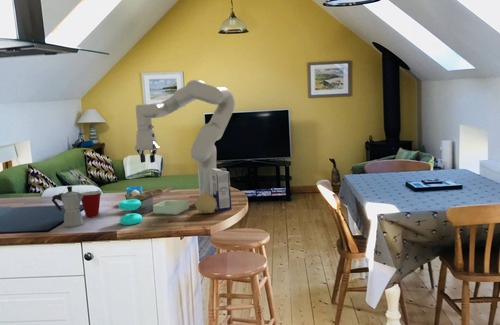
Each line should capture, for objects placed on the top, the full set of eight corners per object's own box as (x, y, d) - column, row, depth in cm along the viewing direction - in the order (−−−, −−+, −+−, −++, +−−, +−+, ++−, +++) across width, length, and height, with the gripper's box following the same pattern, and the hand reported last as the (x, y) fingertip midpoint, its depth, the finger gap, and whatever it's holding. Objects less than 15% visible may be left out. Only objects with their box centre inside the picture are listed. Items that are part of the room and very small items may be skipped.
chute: (173, 189, 259) (171, 181, 259) (152, 197, 243) (150, 189, 242) (149, 194, 266) (147, 187, 266) (127, 202, 250) (124, 194, 249)
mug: (139, 204, 264) (137, 189, 262) (124, 204, 266) (123, 189, 264) (148, 199, 275) (147, 184, 274) (134, 199, 277) (133, 184, 276)
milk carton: (214, 207, 247) (211, 167, 243) (227, 206, 249) (224, 166, 246) (218, 211, 240) (215, 169, 237) (231, 209, 242) (229, 168, 239)
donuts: (142, 201, 224) (120, 204, 220) (144, 223, 226) (122, 226, 222) (138, 197, 233) (116, 200, 230) (140, 218, 235) (118, 221, 231)
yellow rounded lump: (220, 210, 242) (218, 188, 240) (215, 216, 230) (213, 193, 228) (200, 210, 243) (198, 189, 242) (194, 217, 232) (192, 194, 230)
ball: (142, 196, 253) (139, 188, 253) (137, 197, 250) (134, 190, 250) (135, 197, 255) (133, 190, 255) (131, 199, 252) (128, 191, 251)
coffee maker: (90, 221, 235) (86, 183, 232) (85, 226, 226) (80, 187, 223) (58, 223, 234) (53, 185, 231) (51, 228, 226) (46, 189, 223)
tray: (189, 209, 247) (188, 201, 247) (176, 214, 237) (176, 206, 237) (166, 207, 253) (165, 200, 252) (153, 213, 243) (152, 205, 242)
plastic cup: (107, 212, 250) (105, 189, 248) (98, 218, 239) (96, 193, 237) (86, 213, 251) (84, 189, 249) (77, 219, 241) (74, 194, 239)
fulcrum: (159, 207, 255) (158, 196, 254) (145, 213, 244) (144, 202, 243) (146, 206, 258) (145, 196, 257) (132, 212, 247) (131, 201, 247)
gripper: (162, 127, 263) (165, 161, 265) (135, 127, 270) (139, 161, 273) (154, 128, 256) (157, 163, 259) (127, 129, 263) (130, 163, 266)
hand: (147, 161), depth 266 cm, fingers open, 5 cm apart
